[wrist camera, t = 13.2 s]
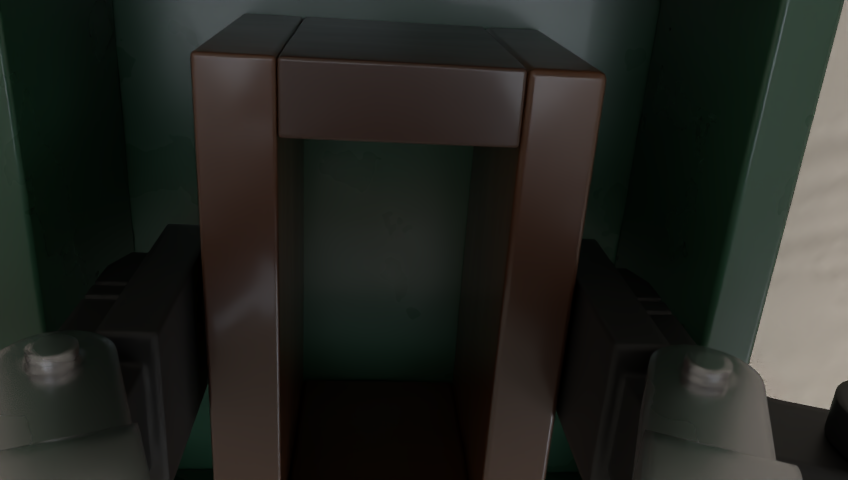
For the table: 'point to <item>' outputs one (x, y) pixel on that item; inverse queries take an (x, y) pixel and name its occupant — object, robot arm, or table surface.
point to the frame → (483, 257)
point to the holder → (411, 169)
